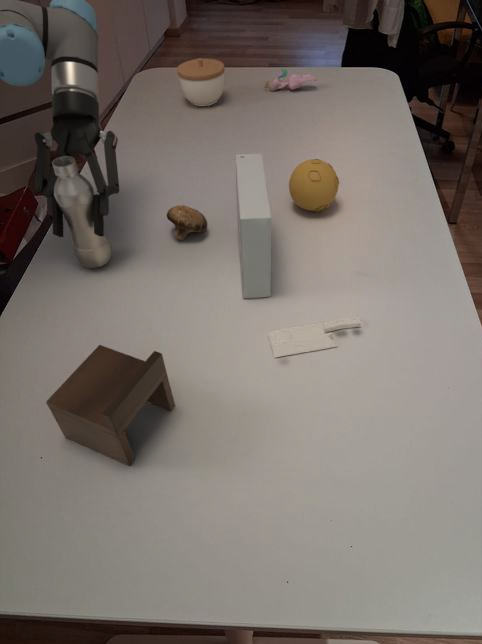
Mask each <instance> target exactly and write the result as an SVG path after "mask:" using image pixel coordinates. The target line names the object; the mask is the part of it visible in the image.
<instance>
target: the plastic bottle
mask: <svg viewBox="0 0 482 644" xmlns="http://www.w3.org/2000/svg"><path fill="white" fill-rule="evenodd" d="M55 158H56V157H55ZM55 158H54V159H53V161H52V162H51V165H52V168H54V173H55V175H56V176H57V180H56V182H55V185H54V197H55V199H56V201H57V203H58V205H59V207H60V209H61V211H62V213H63V218H64V219H65V221H66V224H67V227H68V229H69V233H70V238H71V242H72V249H73V255H74V257H75V258H76V260H77V263H79V264H80V265H81V266H83V267H85V268H88V269H97V268H100V267H103V266H104V265H106V264H107V263H109V260H110V259H111V257H112V250H111V249H112V248H111V245H110V242H109V240H108V238H107V237H106V235H105V234H104V236H98V235H96V234H94V200H93V196H94V195H95V190H94V187H93V185H92V183H91V182H90V181H89V179H87V178H86V177H85V176H84V175H83V174H81V173H79V172H80V168H79V166H78V163H77V160H76V159H75V158H74V156H72V157H70V156H63V157H59V158H56V159H55Z"/></svg>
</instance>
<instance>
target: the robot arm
mask: <svg viewBox="0 0 482 644" xmlns="http://www.w3.org/2000/svg"><path fill="white" fill-rule="evenodd" d="M98 41H99V33H98V24H97V15H96V12H95V10H94V8H93V6H91V4H90V3H88V2H87V1H86V0H51V1H50V3H49V7H48V6H46V7H45V6H41V5H37V4H33V3H30V2H26V1H23V0H0V79H1V80H2V81H3V82H5V83H6V84H7V85H8V84H9V85H11V86H15V87H28V86H31V85H33V84H35V83H36V82H37V81H39V80H40V79H41V77H42V76H43V74H44V72H45V69H46V68H45V67H46V60H50V63H51V66H50V67H51V94H52V95H53V96H52V97H51V110H52V111H51V112H52V116H51V117H52V126H51V128H50V131H48V132H45V133H40V132H35V134H34V136H33V137H34V141H35V145H36V160H35V177H34V178H35V179H34V180H35V181H34V190H35V192H38V193H39V194H41V195H42V196H45V197H46V213H47V215H48V216H49V217H51V218H52V219H51V221H52V235H53V236H56V237H58V238H64V237H65V235H64V234H65V233H64V232H65V231H64V214H63V213H62V211H61V209H60V207H59V205H58V203H57V201H56V199H55V197H54V185H55V182H56V180H57V176H56V175H55V173H54V168H53V167H52V168H51V167H50V166H51V165H50V164H51V147H52V145H53V141H54V142H55V143H56V145H57V147H56V150H55V157H54V160H55V159H56V158H59V157H63V156H70V157H76V156H79V155H80V156H82V157H85V160H86V162H87V165H88V168H89V170H90V174H91V176H92V179H93V182H94V185H95V187H96V192H97V193H98V194H94V196H93V200H94V234H96V235H98V236H104V235H105V224H104V223H105V222H104V221H105V219H104V217H108V216H109V214H110V201H109V200H110V197H111V196H112V195H116V194H120V190H121V189H120V182H119V181H120V180H119V172H118V170H119V169H118V162H117V161H118V160H117V151H116V150H117V145H118V141H119V139H118V137H117V135H116V134H115V133H114V132H113V131H112V130H108V131H104V130H102V129H101V127H100V103H99V102H98V100H99V67H98V66H99V61H98V60H99V59H98V57H99V55H98V53H99V49H98V47H99V46H98V43H99V42H98ZM100 141H101V143H102V144H103V151H104V159H105V160H104V161H105V169H106V179H107V183H106V179H105V178H104V174H103V172H102V169H101V166H100V163H99V161H98V156H97V154H96V150H95V148H96V146H97V145H98V143H99V142H100ZM50 168H51V172H50Z"/></svg>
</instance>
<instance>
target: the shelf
mask: <svg viewBox="0 0 482 644" xmlns="http://www.w3.org/2000/svg"><path fill="white" fill-rule="evenodd" d="M170 383H171V382H170V380H169V375H168V372H167V368H166V364H165V360H164V356H163V353H162V352H159V351H156V350H154V351H153V352H152V353H151V354H150V355H149V356H148V357H147V359H146V360H142V359H140V358H137V357H134V356H133V355H129V354H127V353H124V352H121V351H118V350H115V349H113V348H110V347H107V346H104V345H101V344H98V346H97V347H96V348H95V349H94V350H93V351H92V352H91V353H90V354H89V355H88V356H87V357H86V358H85V359H84V360H83V361H82V363H81V364H80V365H79V366H78V367H77V368H76V369H75V370H74V371H73V372H72V373H71V375H70V376H68V378H67V379H66V380H65V381H64V382H63V383H62V384H61V385H60V386H59V387H58V388H57V390H55V391H54V393H52V395H51V396H50V397H49V398H48V399H47V400H46V401H45V403H46V405H47V408H48V409H49V410H50V412H51V415H52V416H53V418H54V420H55V421H56V423H57V425H58V427H59V429H60V431H61V433H62V435H63V436H64V438H65V439H68V440H69V441H72V442H74V443H76V444H79V445H80V446H83V447H85V448H87V449H90V450H92V451H95V452H97V453H99V454H101V455H103V456H106V457H108V458H110V459H112V460H115V461H117V462H118V463H119V462H120V463H121V464H124V465H126V466H128V467H131V466H132V465H133V464H134V463H135V461H136V457H135V454H134V452H133V450H132V447H131V444H130V442H129V439H128V437H127V435H126V432H125V430H126V429H127V427H128V426H129V425H130V423H131V421H132V420H133V419H134V418H135V417H136V416H137V414H138V413H139V412H140V410H141V409H142V407H143V406H144V405H145V404H146V403H147V404H151V405H153V406H155V407H159V408H161V409H163V410H166V411H169V412H172V411H173V409H174V408H175V407H176V402H175V399H174V396H173V391H172V388H171V384H170Z"/></svg>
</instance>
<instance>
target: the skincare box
mask: <svg viewBox="0 0 482 644" xmlns="http://www.w3.org/2000/svg"><path fill="white" fill-rule="evenodd" d="M234 156H235V158H234V159H235V182H236V183H235V184H236V215H237V237H238V254H239V255H238V256H239V267H240V268H239V269H240V281H241V283H240V284H241V297H242V299H251V298H252V299H254V298H255V299H258V298H270V297H271V289H272V288H271V287H272V286H271V284H272V283H271V282H272V210H271V205H270V200H269V199H270V198H269V191H268V184H267V178H266V177H267V176H266V170H265V165H264V163H265V162H264V157H263V153H237V154H235V155H234Z"/></svg>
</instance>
